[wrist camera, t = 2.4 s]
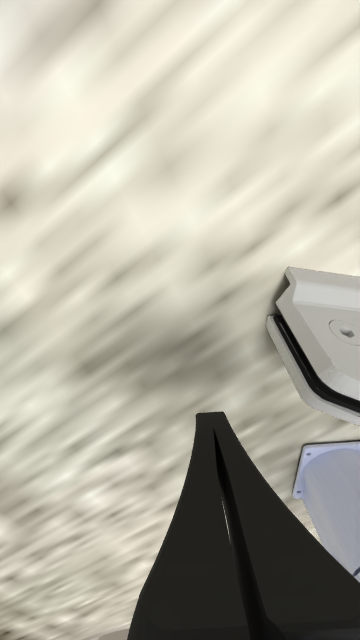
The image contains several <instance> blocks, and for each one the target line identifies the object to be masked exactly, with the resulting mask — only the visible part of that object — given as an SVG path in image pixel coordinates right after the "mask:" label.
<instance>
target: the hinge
mask: <svg viewBox="0 0 360 640" xmlns="http://www.w3.org/2000/svg"><path fill="white" fill-rule="evenodd" d="M285 275H286V277H287V278H288V280H289V282H290V286H289V287H288V288H287V289H286V290H285V292H284V293H283V294H282V295H281V297H280V298H279V299H278V300H277V301H276V305H277V306H278V311H279V313H280V314H281V315H278V314H275V315H274V316H270V315H268V318H267V322H266V328H267V330H268V332H269V334H270V336H271V338H272V340H273V342H274V344H275V346H276V348H277V350H278V352H279V354H280V356H281V358H282V360H283V362H284V365H285V367H286V369H287V371H288V373H289V375H290V377H291V379H292V381H293V383H294V385H295V387H296V389H297V391H298V393H299V395H300V397H301V398H302V400H303V401H304V402H305V403H306V404H308V405H309V406H311V407H312V408H314V409H317V410H319V411H321V412H324V413H326V414H329V415H331V416H333V417H336V418H339V419H342V420H345V421H347V422H350V423H353V424H356V425H359V426H360V277H357V276H350V275H343V274H336V273H329V272H322V271H314V270H307V269H300V268H293V267H288V268H287V270H286V272H285Z"/></svg>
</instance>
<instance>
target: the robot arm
mask: <svg viewBox="0 0 360 640" xmlns="http://www.w3.org/2000/svg"><path fill="white" fill-rule="evenodd" d="M221 497H222V498H221ZM293 497H294V498H295V499H303V502H304V504H305V506H306V509H307V511H308V513H309V515H310V518H311V520H312V522H313V524H314V527H315V529H316V531H317V533H318V536H319V538H320V540H321V543H322V545H323V546H322V545H321V544H320V543H319V542H318V541H317V540H316V539H315V537H314V536H313V535H312V534H311V533H310V532H309V531H308V530H307V529H306V528H305V527H304V525H303V524H302V523H301V522H300V521H299V520H298V519H297V518H296V517H295V515H294V514H293V513H292V512H291V511H290V510H289V509H288V508H287V506H286V505H285V504H284V503H283V502H282V500H281V499H280V498H279V497H278V496H277V494H276V493H275V492H274V491H273V489H272V488H271V487H270V485H269V484H268V483H267V482H266V480H265V479H264V478H263V476H262V475H261V473H260V472H259V471H258V469H257V468H256V466H255V465H254V463H253V462H252V461H251V459H250V458H249V456H248V455H247V453H246V451H245V450H244V448H243V447H242V445H241V443H240V442H239V440H238V438H237V437H236V435H235V433H234V431H233V430H232V428H231V426H230V424H229V422H228V420H227V417H226V415H225V413H224V412H209V413H198V414H197V415H196V431H195V439H194V444H193V450H192V455H191V460H190V464H189V468H188V472H187V476H186V479H185V483H184V486H183V489H182V492H181V496H180V499H179V502H178V505H177V507H176V510H175V513H174V516H173V519H172V521H171V524H170V527H169V529H168V532H167V534H166V536H165V539H164V541H163V544H162V546H161V548H160V551H159V553H158V556H157V558H156V560H155V562H154V565H153V567H152V569H151V571H150V573H149V575H148V577H147V580H146V582H145V584H144V586H143V588H142V590H141V592H140V595H139V599H138V602H137V605H136V608H135V612H134V615H133V618H132V622H131V625H130V629H129V634H128V638H127V640H360V442H346V443H331V444H316V445H306V446H304V448H303V451H302V455H301V459H300V464H299V468H298V472H297V477H296V481H295V485H294V490H293ZM222 501H223V503H222ZM223 506H224V508H223ZM224 510H225V513H224ZM225 515H226V519H227V524H226V519H225ZM227 525H228V529H227ZM228 530H229V534H228ZM229 536H230V539H229ZM230 543H231V544H230Z"/></svg>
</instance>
